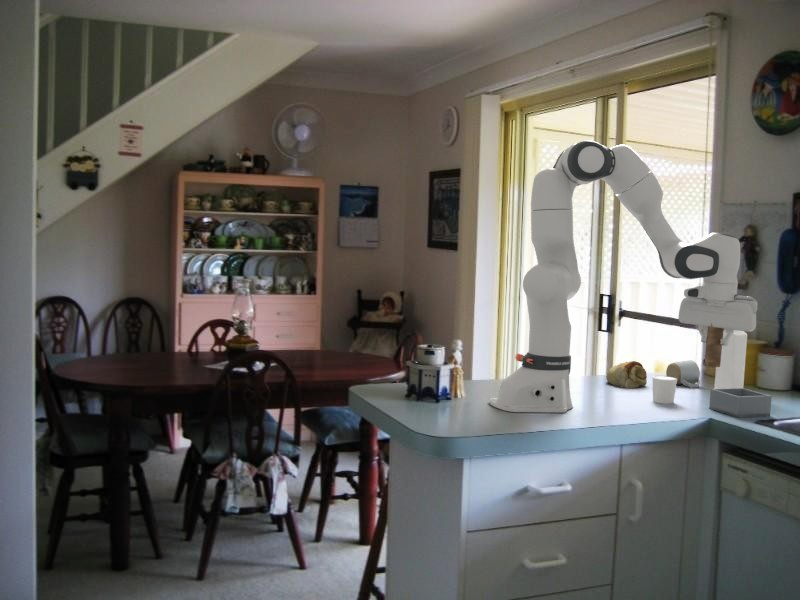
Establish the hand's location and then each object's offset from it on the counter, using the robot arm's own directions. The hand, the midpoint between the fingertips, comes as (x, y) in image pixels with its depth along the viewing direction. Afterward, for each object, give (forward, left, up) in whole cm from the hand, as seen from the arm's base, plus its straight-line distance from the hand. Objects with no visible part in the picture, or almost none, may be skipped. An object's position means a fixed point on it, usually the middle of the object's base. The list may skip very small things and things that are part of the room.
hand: (714, 343), depth 231 cm
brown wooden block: (0, 0, -6) cm, 6 cm away
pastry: (0, +40, -19) cm, 44 cm away
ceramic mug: (+20, +36, -19) cm, 46 cm away
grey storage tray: (+8, -2, -19) cm, 21 cm away
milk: (+23, +20, -19) cm, 36 cm away
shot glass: (-5, +14, -19) cm, 24 cm away
